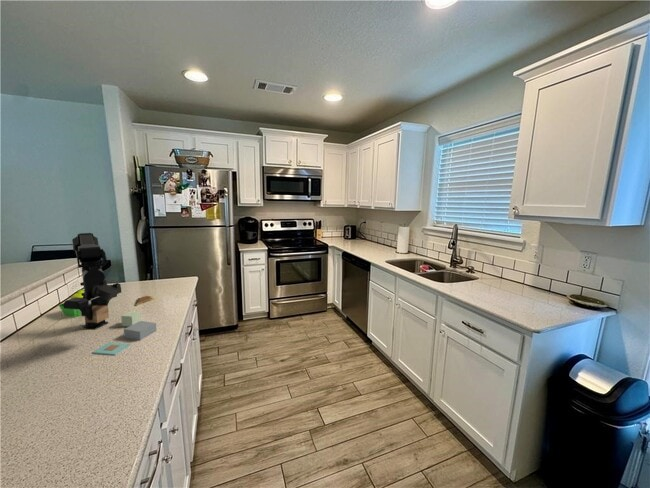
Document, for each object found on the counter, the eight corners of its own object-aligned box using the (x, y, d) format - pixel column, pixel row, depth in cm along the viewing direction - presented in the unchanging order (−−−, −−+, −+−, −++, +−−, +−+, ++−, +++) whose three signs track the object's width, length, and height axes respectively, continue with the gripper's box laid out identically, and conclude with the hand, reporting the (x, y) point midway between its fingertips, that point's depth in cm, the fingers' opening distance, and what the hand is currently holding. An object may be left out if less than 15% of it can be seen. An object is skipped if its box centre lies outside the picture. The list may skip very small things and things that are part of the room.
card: (92, 353, 99) (92, 351, 99) (109, 343, 106) (109, 341, 105) (115, 355, 98) (114, 353, 98) (130, 345, 105) (130, 343, 105)
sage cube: (122, 326, 120) (121, 315, 119) (131, 321, 125) (130, 311, 124) (132, 326, 120) (131, 316, 119) (141, 321, 124) (140, 311, 124)
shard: (136, 306, 142) (135, 303, 142) (126, 304, 144) (125, 301, 144) (155, 300, 152) (154, 296, 152) (145, 298, 155) (145, 295, 154)
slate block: (124, 338, 110) (123, 329, 110) (141, 329, 118) (140, 320, 118) (140, 340, 109) (139, 331, 108) (156, 331, 117) (156, 323, 116)
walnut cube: (85, 322, 103) (84, 309, 102) (97, 316, 107) (96, 304, 107) (97, 323, 102) (96, 310, 101) (108, 317, 107) (107, 305, 106)
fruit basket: (58, 314, 129) (55, 292, 127) (81, 308, 137) (78, 287, 135) (72, 319, 125) (69, 296, 123) (94, 312, 133) (92, 290, 131)
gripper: (88, 287, 92) (93, 329, 95) (131, 273, 111) (135, 309, 113) (59, 286, 93) (65, 327, 96) (107, 272, 112) (110, 307, 114)
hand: (97, 317), depth 105 cm, fingers closed on walnut cube, 5 cm apart
